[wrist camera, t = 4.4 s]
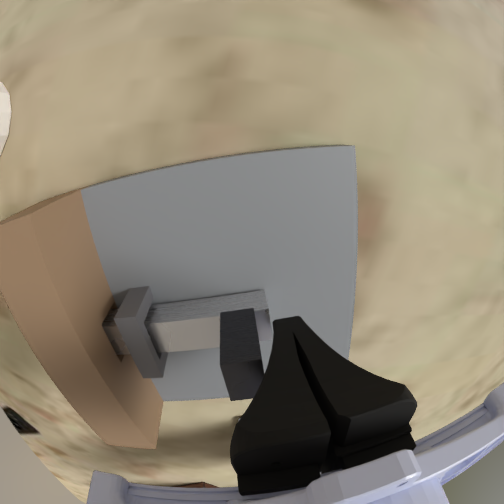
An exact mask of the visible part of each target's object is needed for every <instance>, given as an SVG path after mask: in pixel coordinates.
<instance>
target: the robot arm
mask: <svg viewBox="0 0 504 504" xmlns="http://www.w3.org/2000/svg"><path fill="white" fill-rule="evenodd" d="M272 323H273V332H274V334H273V343H272V349H271V354H270V358H269V362H268V365H267V369H266V372H265V374H264V377H263V379H262V382H261V384H260V386H259V389H258V391H257V393H256V395H255V396H254V398H253V400H252V402H251V403H250V405H249V407H248V408H247V410H246V411H245V413H244V414H243V416H242V417H241V418H239V419H238V423H237V424H236V427H235V430H234V433H233V436H232V440H231V446H230V458H231V464H232V466H233V468H234V470H235V471H236V473H237V478H238V487H223V488H182V487H165V486H154V485H144V484H137V483H130V482H128V481H127V480H126V479H125V478H123V477H121V476H119V475H116V474H111V473H105V472H101V471H96V470H95V471H93V475H92V480H91V484H90V489H89V494H88V499H87V504H449V502H448V499H447V497H446V495H445V493H444V490H443V488H442V485H443V484H445V483H447V482H448V481H450V480H451V479H453V478H454V477H456V476H457V475H459V474H460V473H462V472H463V471H464V470H466V469H468V468H469V467H470V466H472V465H473V464H475V463H476V462H477V461H479V460H480V459H481V458H482V457H484V456H485V455H486V454H488V453H489V452H490V451H491V450H493V449H494V448H495V447H496V446H498V445H499V444H500V443H501V442H502V441H503V440H504V382H503V383H502V384H501V385H499V386H498V387H497V388H495V389H494V390H493V391H491V392H490V393H489V395H488V396H487V397H486V399H485V400H484V403H482V404H481V405H479V406H478V407H476V408H475V409H473V410H472V411H470V412H469V413H467V414H465V415H464V416H462V417H460V418H459V419H457V420H455V421H454V422H452V423H450V424H448V425H447V426H445V427H443V428H441V429H439V430H437V431H435V432H433V433H431V434H429V435H427V436H425V437H423V438H421V439H419V440H417V441H415V442H414V440H413V438H412V436H411V434H410V432H411V431H412V428H411V427H410V425H409V422H410V420H411V418H412V416H413V414H414V413H415V410H416V408H417V402H416V400H415V398H414V397H413V395H412V394H411V392H410V391H409V390H408V388H407V387H406V386H405V385H404V384H400V383H397V382H394V381H390V380H387V379H384V378H382V377H379V376H377V375H374V374H372V373H370V372H368V371H366V370H364V369H362V368H360V367H358V366H357V365H355V364H353V363H352V362H350V361H349V360H347V359H346V358H344V357H343V356H341V355H340V354H339V353H337V352H336V351H335V350H333V349H332V348H331V347H330V346H329V345H327V344H326V343H325V342H324V341H323V340H322V339H321V338H320V337H319V336H318V335H317V334H316V333H315V332H314V331H313V330H312V329H311V328H310V327H309V326H308V325H307V324H306V323H305V321H304V320H303V319H302V318H301V317H300V316H294V317H288V318H282V319H276V320H274V321H273V322H272Z"/></svg>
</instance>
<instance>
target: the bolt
mask: <svg viewBox="0 0 504 504" xmlns="http://www.w3.org/2000/svg"><path fill="white" fill-rule="evenodd" d="M118 310H119V308H118V309H110V310H109V312H108V314H107V315H106V317H105V319H104V321H103V323H102V324H101V325H102V327H103V329H104V331H105V333H106V335H107V337H108V339H109V341H110V343H111V345H112V347H113V349H114V351H115V353H116V355H123V354H130V352H129V350H128V348H127V346H126V344H125V342H124V340H123V338H122V336H121V334H120V332H119V329H118V327H117V325H116V323H115V320H114V317H115V315H116V313H117V311H118ZM144 324H145V327H146V329H147V332H148V334H149V336H150V339H151V341H152V343H153V346H154V348H155V350H156V353H163V352H176V351H188V350H198V349H208V348H217V347H220V368H221V371H222V374H223V378H224V381H225V384H226V387H227V391H228V394H229V397H230V400H231V401H235V400H243V399H251V398H254V396H255V395H256V393H257V391H258V389H259V386H260V384H261V382H262V379H263V377H264V369H263V362H262V356H261V350H260V344H259V342H261V341H267V340H272V333H271V324H270V316H269V308H268V304H267V300H266V296H265V291H264V290H260V291H253V292H247V293H240V294H233V295H226V296H219V297H212V298H204V299H197V300H189V301H181V302H173V303H164V304H156V305H151V306H150V308H149V311H148V314H147V316H146V319H145V321H144Z"/></svg>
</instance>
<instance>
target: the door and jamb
mask: <svg viewBox="0 0 504 504" xmlns="http://www.w3.org/2000/svg"><path fill="white" fill-rule="evenodd" d="M357 242H358V200H357V172H356V154H355V146H352V145H326V146H310V147H297V148H286V149H276V150H266V151H258V152H250V153H242V154H235V155H228V156H221V157H215V158H209V159H203V160H197V161H192V162H187V163H181V164H176V165H171V166H166V167H162V168H157V169H153V170H148V171H144V172H139V173H135V174H131V175H127V176H123V177H119V178H116V179H112V180H108V181H104V182H101V183H97V184H94V185H90V186H87V187H84V188H80V189H77V190H74V191H71V192H68V193H64V194H61V195H58V196H55V197H52V198H50V199H47V200H44V201H42V202H39V203H37V204H35V205H33V206H31V207H29V208H27V209H25V210H23V211H21V212H19V213H17V214H15V215H13V216H11V217H9V218H7V219H5V220H3V221H1V222H0V289H1V292H2V294H3V296H4V298H5V301H6V303H7V305H8V307H9V309H10V311H11V313H12V315H13V317H14V319H15V321H16V323H17V325H18V326H19V328H20V330H21V332H22V334H23V335H24V337H25V339H26V341H27V342H28V344H29V346H30V347H31V349H32V351H33V352H34V354H35V355H36V357H37V359H38V360H39V362H40V363H41V365H42V366H43V368H44V369H45V371H46V372H47V374H48V375H49V376H50V378H51V379H52V381H53V382H54V383H55V385H56V386H57V388H58V389H59V390H60V391H61V393H62V394H63V395H64V397H65V398H66V399H67V400H68V402H69V403H70V404H71V405H72V407H73V408H74V409H75V410H76V411H77V413H78V414H79V415H80V416H81V417H82V418H83V420H84V421H85V422H86V423H87V424H88V425H89V426H90V427H91V428H92V430H93V431H94V432H95V433H96V434H97V435H98V436H99V437H100V438H101V439H102V440H103V441H104V442H105V443H106V444H107V445H114V446H123V447H133V448H145V449H156V446H157V439H158V432H159V426H160V419H161V413H162V407H163V401H185V400H202V399H215V398H226V397H229V394H228V391H227V387H226V384H225V381H224V378H223V374H222V371H221V368H220V347H217V348H208V349H198V350H188V351H176V352H163V353H156V350H155V348H154V346H153V343H152V341H151V339H150V336H149V334H148V332H147V329H146V327H145V324H144V321H145V319H146V316H147V314H148V311H149V308H150V306H151V305H156V304H164V303H173V302H181V301H189V300H197V299H204V298H212V297H219V296H226V295H233V294H240V293H247V292H253V291H260V290H264V291H265V296H266V300H267V304H268V308H269V316H270V324H271V333H272V340H267V341H261V342H259V344H260V350H261V356H262V362H263V369H264V374H265V372H266V369H267V365H268V362H269V358H270V354H271V349H272V343H273V334H274V332H273V323H272V322H273V321H274V320H276V319H282V318H288V317H294V316H300V317H301V318H302V319H303V320H304V321H305V323H306V324H307V325H308V326H309V327H310V328H311V329H312V330H313V331H314V332H315V333H316V334H317V335H318V336H319V337H320V338H321V339H322V340H323V341H324V342H325V343H326V344H327V345H329V346H330V347H331V348H332V349H333V350H335V351H336V352H337V353H339V354H340V355H341V356H343V357H344V358H346V359H347V360H348V357H349V350H350V342H351V333H352V324H353V314H354V302H355V288H356V271H357ZM118 308H119V310H118V311H117V313H116V315H115V317H114V320H115V323H116V325H117V327H118V329H119V332H120V334H121V336H122V338H123V340H124V342H125V344H126V346H127V348H128V350H129V352H130V354H123V355H116V353H115V351H114V349H113V347H112V345H111V343H110V341H109V339H108V337H107V335H106V333H105V331H104V329H103V327H102V325H101V324H102V323H103V321H104V319H105V317H106V315H107V314H108V312H109V310H110V309H118Z"/></svg>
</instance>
